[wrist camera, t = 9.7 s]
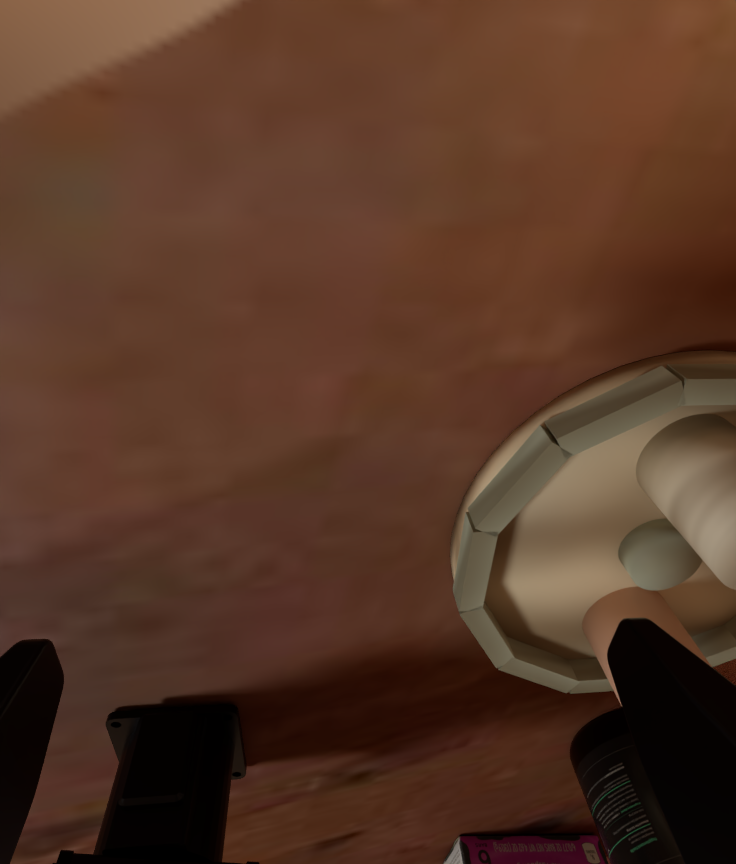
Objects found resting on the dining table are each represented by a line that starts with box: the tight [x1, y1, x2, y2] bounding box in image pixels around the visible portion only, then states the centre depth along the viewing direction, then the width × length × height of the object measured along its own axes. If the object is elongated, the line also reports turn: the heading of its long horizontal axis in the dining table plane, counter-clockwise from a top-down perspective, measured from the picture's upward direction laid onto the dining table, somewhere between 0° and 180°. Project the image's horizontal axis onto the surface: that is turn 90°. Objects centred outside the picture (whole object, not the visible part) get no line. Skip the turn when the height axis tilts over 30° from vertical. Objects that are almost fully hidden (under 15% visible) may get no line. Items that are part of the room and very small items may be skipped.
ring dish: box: [450, 350, 736, 694], centre depth 24 cm, size 17×17×2 cm
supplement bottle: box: [570, 709, 685, 864], centre depth 29 cm, size 7×7×12 cm
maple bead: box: [636, 414, 736, 590], centre depth 19 cm, size 4×4×5 cm
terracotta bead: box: [582, 587, 712, 706], centre depth 24 cm, size 4×4×5 cm
